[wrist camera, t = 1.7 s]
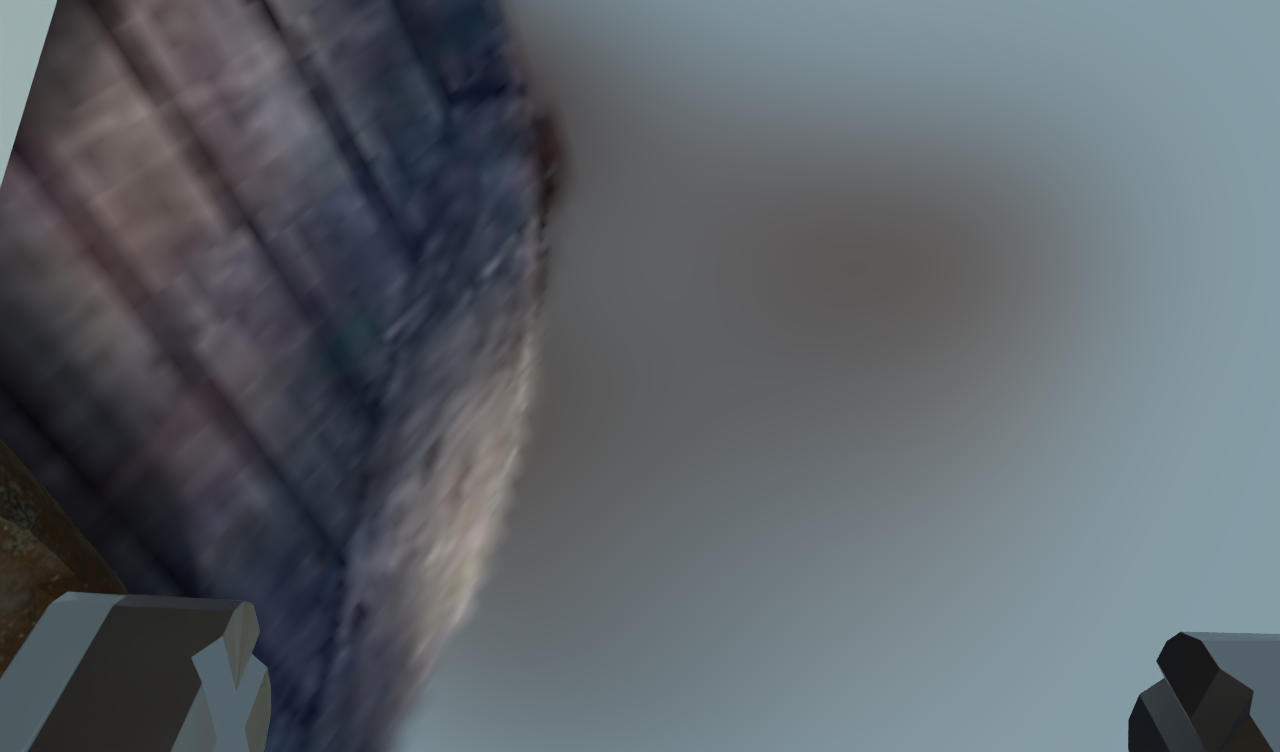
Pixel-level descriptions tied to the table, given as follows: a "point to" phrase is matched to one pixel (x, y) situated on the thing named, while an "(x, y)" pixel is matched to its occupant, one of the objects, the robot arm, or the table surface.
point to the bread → (39, 556)
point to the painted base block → (19, 62)
